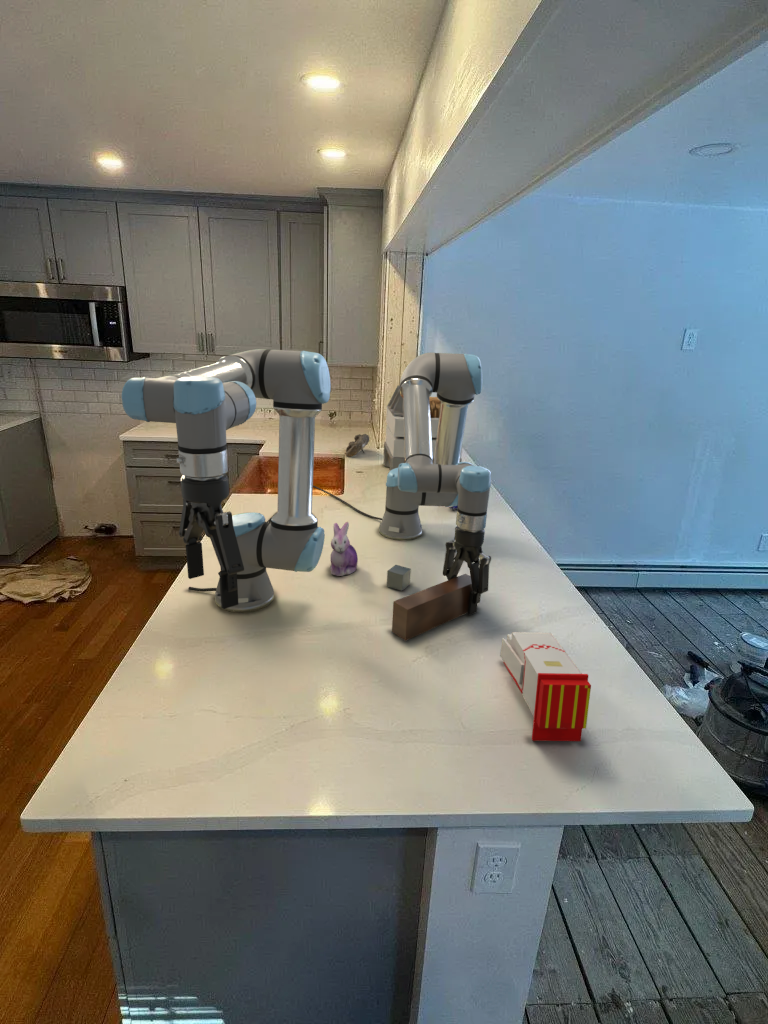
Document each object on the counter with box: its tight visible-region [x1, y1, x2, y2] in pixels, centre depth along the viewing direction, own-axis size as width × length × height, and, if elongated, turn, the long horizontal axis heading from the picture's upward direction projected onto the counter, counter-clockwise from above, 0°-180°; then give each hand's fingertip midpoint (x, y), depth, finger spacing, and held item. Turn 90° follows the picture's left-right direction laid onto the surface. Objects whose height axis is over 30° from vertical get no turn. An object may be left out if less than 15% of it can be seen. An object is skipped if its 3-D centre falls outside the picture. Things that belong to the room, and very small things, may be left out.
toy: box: [499, 631, 592, 742], centre depth 117 cm, size 12×13×30 cm
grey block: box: [386, 564, 412, 592], centre depth 162 cm, size 5×5×5 cm
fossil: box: [345, 433, 370, 458], centre depth 306 cm, size 22×10×15 cm
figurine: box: [329, 521, 359, 577], centre depth 168 cm, size 9×10×15 cm
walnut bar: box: [391, 573, 478, 642], centre depth 144 cm, size 26×5×8 cm, turn 131°
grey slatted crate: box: [383, 384, 464, 471], centre depth 268 cm, size 34×33×41 cm
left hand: (212, 590), depth 100 cm, fingers open, 13 cm apart
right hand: (462, 607), depth 152 cm, fingers open, 6 cm apart
